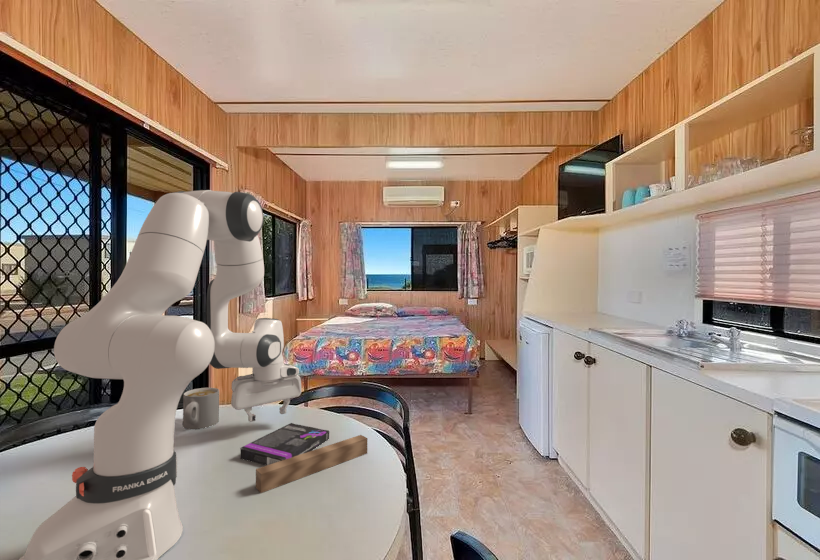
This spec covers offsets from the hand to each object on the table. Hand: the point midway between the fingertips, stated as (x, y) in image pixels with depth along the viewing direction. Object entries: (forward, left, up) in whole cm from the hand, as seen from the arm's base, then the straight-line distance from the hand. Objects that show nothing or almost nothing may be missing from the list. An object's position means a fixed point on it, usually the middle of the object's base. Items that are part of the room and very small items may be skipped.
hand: (267, 417), depth 112 cm
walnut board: (0, -30, -4) cm, 31 cm away
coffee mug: (-14, +19, -5) cm, 24 cm away
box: (-1, -15, -5) cm, 16 cm away
